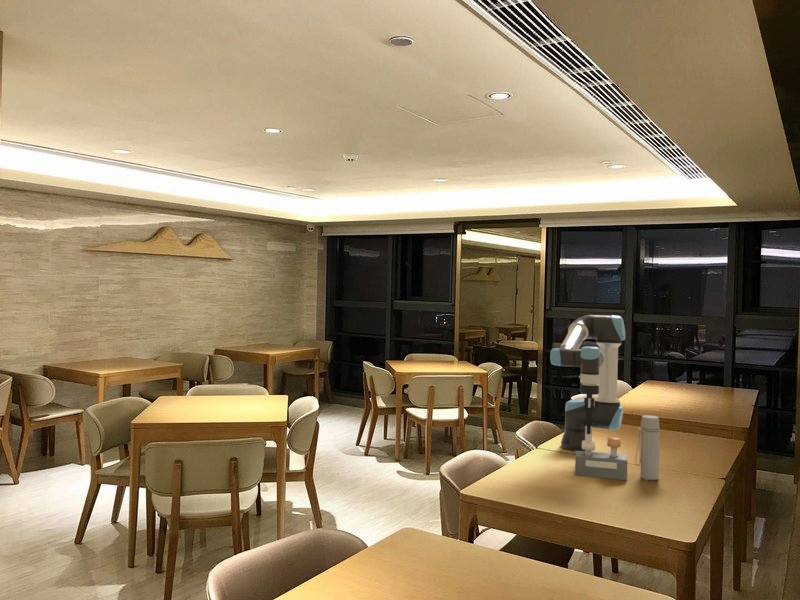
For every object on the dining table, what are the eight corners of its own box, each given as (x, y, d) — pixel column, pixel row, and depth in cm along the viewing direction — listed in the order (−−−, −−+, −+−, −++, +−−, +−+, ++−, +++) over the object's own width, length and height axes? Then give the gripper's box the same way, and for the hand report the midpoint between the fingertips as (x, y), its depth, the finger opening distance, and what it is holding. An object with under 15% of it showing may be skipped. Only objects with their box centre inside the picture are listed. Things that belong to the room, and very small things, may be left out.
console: (575, 469, 271) (575, 450, 271) (625, 473, 265) (625, 454, 265) (575, 475, 261) (575, 456, 261) (627, 480, 255) (627, 460, 255)
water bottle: (655, 476, 263) (657, 415, 263) (661, 481, 255) (663, 419, 255) (632, 475, 264) (633, 414, 263) (637, 480, 256) (639, 418, 256)
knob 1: (581, 466, 268) (581, 440, 268) (594, 467, 266) (594, 441, 266) (581, 469, 263) (581, 442, 263) (594, 470, 261) (595, 443, 261)
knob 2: (606, 463, 265) (607, 436, 265) (619, 464, 264) (620, 437, 264) (607, 466, 260) (607, 439, 260) (620, 467, 259) (621, 440, 259)
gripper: (580, 381, 272) (579, 437, 272) (580, 385, 259) (578, 443, 259) (598, 382, 270) (597, 438, 270) (599, 386, 257) (598, 445, 257)
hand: (588, 441), depth 264 cm, fingers closed
